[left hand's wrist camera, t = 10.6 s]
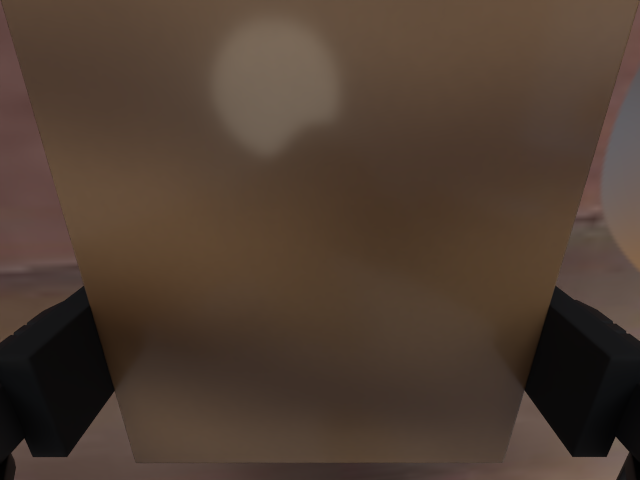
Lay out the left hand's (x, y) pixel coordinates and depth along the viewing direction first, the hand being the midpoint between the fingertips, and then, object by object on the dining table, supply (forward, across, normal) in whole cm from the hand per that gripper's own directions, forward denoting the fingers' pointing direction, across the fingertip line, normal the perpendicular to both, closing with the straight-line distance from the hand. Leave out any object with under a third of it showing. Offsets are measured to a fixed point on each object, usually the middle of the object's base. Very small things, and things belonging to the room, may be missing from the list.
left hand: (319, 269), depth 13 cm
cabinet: (+5, 0, -6) cm, 7 cm away
